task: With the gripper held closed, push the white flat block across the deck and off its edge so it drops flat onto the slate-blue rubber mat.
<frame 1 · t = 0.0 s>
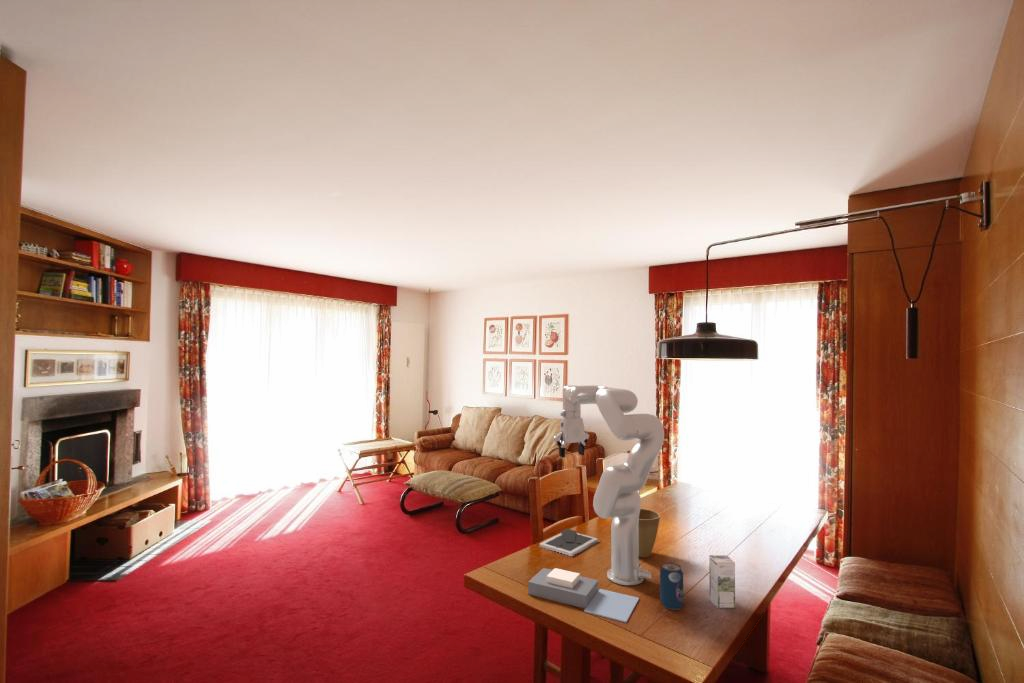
hand: (571, 455, 199), 37 cm above the table, tool pointing down, fingers open, 9 cm apart
syrup box: (722, 605, 149), on the table
picture frame: (569, 546, 199), on the table
deck: (563, 593, 157), on the table
plant pot: (640, 554, 189), on the table
soda can: (671, 605, 149), on the table
mat: (612, 605, 149), on the table
white flat block: (563, 580, 157), point 4 cm above the table, touching deck
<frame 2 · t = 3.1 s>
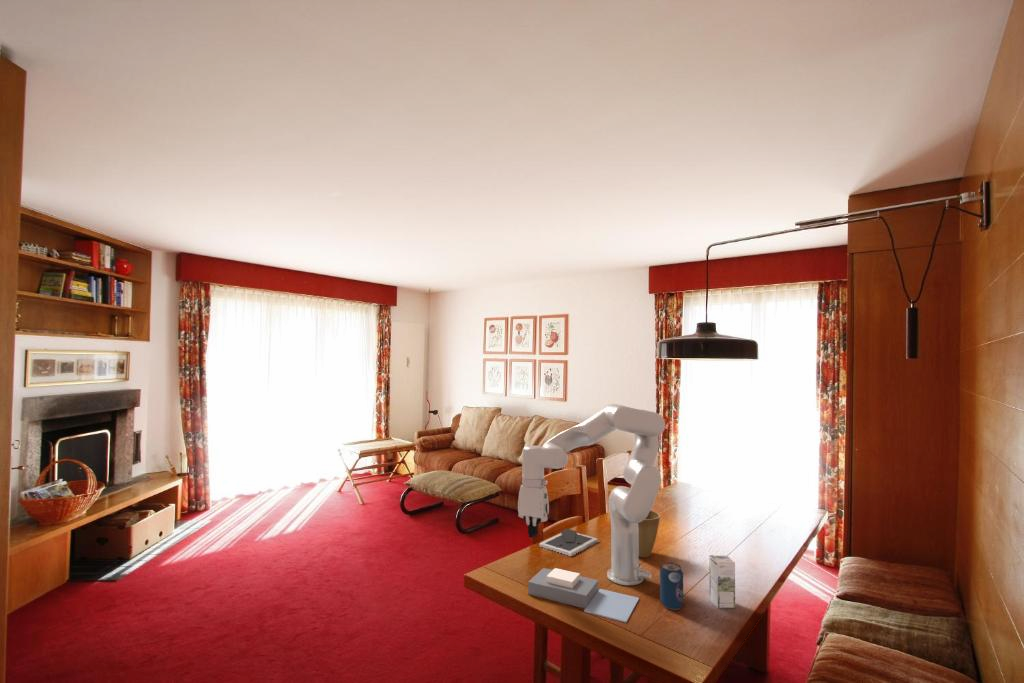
hand: (532, 536, 163), 17 cm above the table, tool pointing down, fingers closed
nothing on the table moved.
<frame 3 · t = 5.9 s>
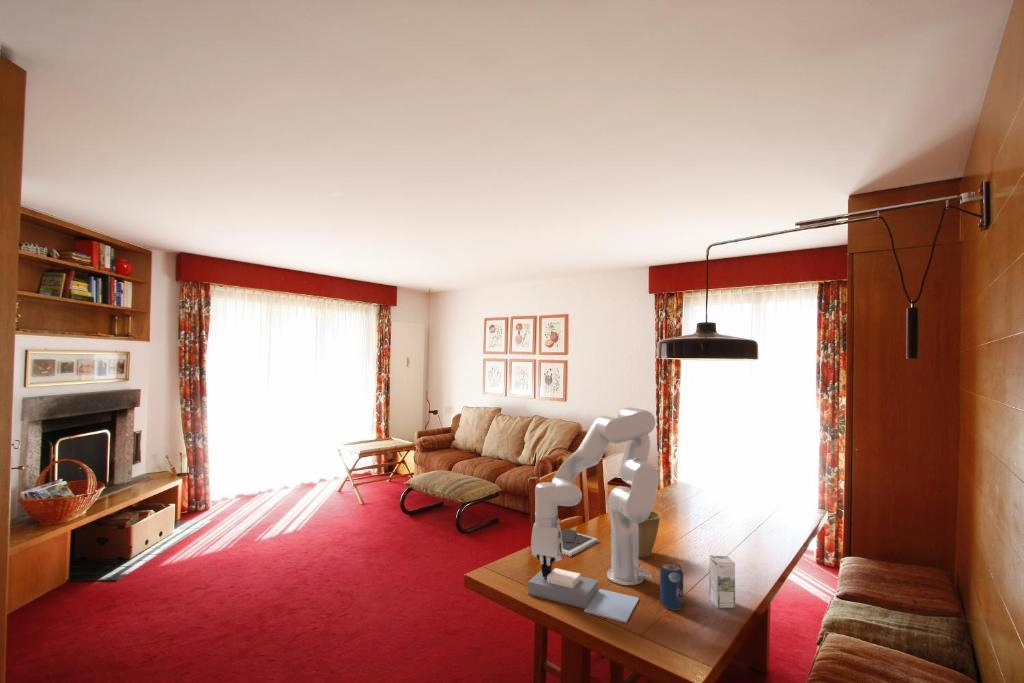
hand: (546, 575, 160), 4 cm above the table, tool pointing down, fingers closed
white flat block: (563, 581, 157), point 4 cm above the table, touching gripper
everything else where it was.
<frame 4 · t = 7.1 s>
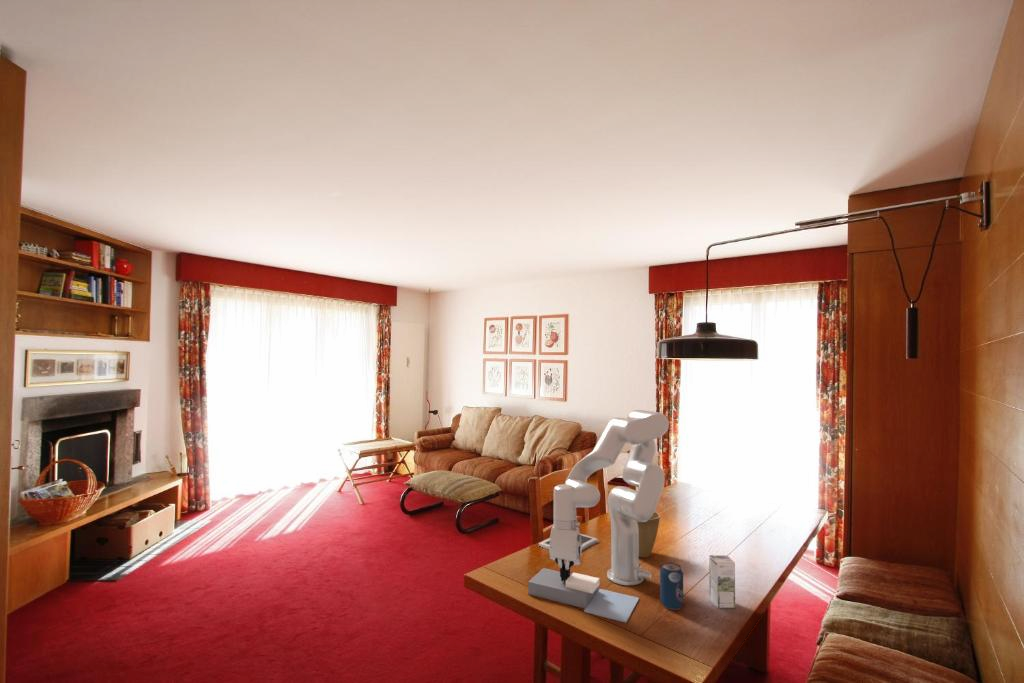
hand: (565, 579, 157), 5 cm above the table, tool pointing down, fingers closed
white flat block: (582, 585, 154), point 4 cm above the table, touching deck, gripper
everything else where it was.
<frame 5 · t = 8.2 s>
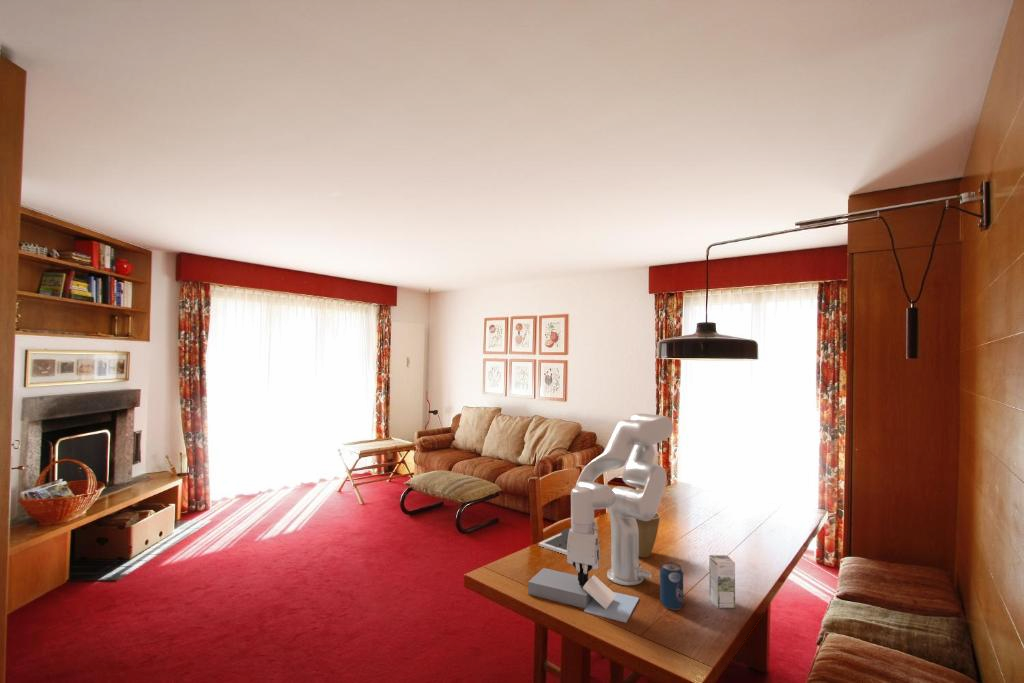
hand: (583, 584, 154), 4 cm above the table, tool pointing down, fingers closed
white flat block: (598, 593, 151), point 3 cm above the table, tilted 32°, touching gripper
everything else where it was.
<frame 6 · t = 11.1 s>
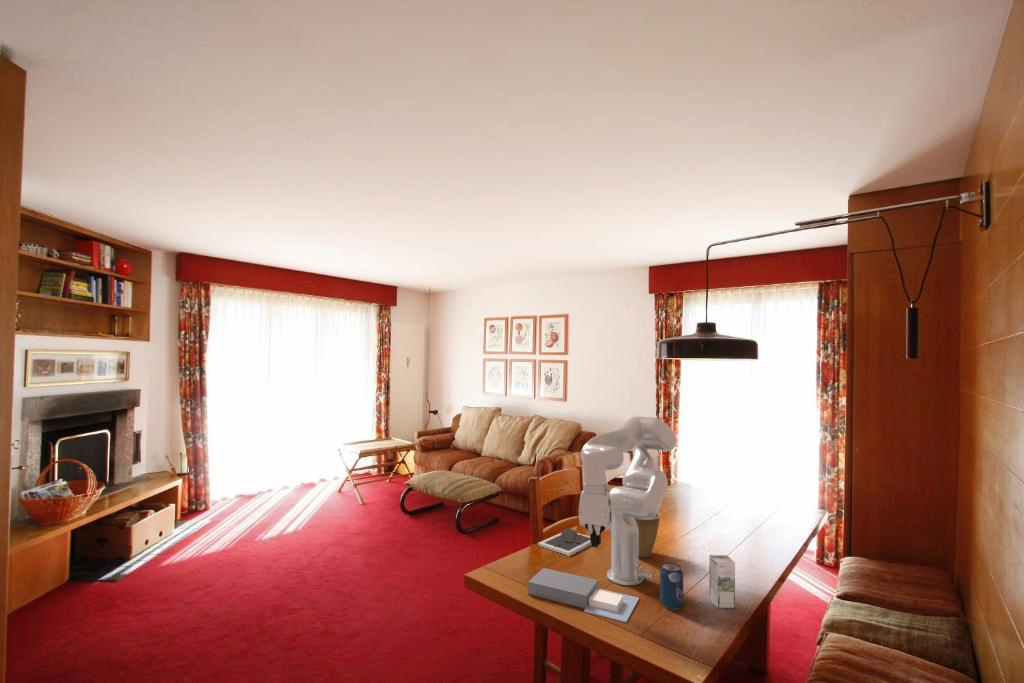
hand: (595, 545, 153), 17 cm above the table, tool pointing down, fingers closed
white flat block: (606, 603, 149), resting on mat
everything else where it was.
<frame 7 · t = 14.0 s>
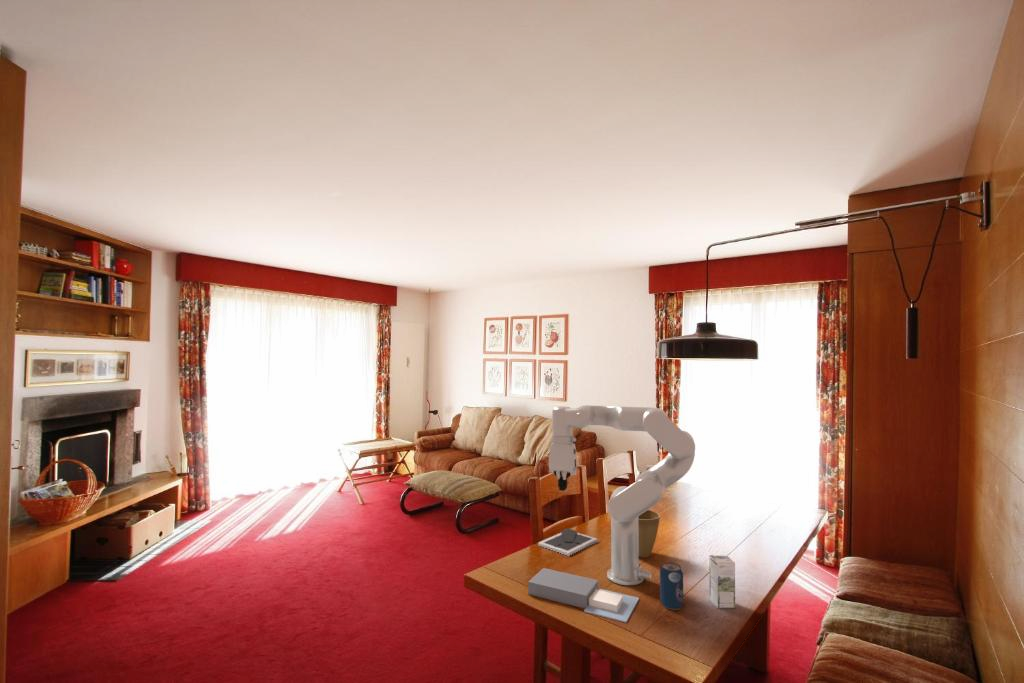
hand: (562, 489, 176), 29 cm above the table, tool pointing down, fingers closed
nothing on the table moved.
at the end: white flat block inside the target area (2.2 cm from its centre), resting on mat; white flat block tilted 0° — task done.
